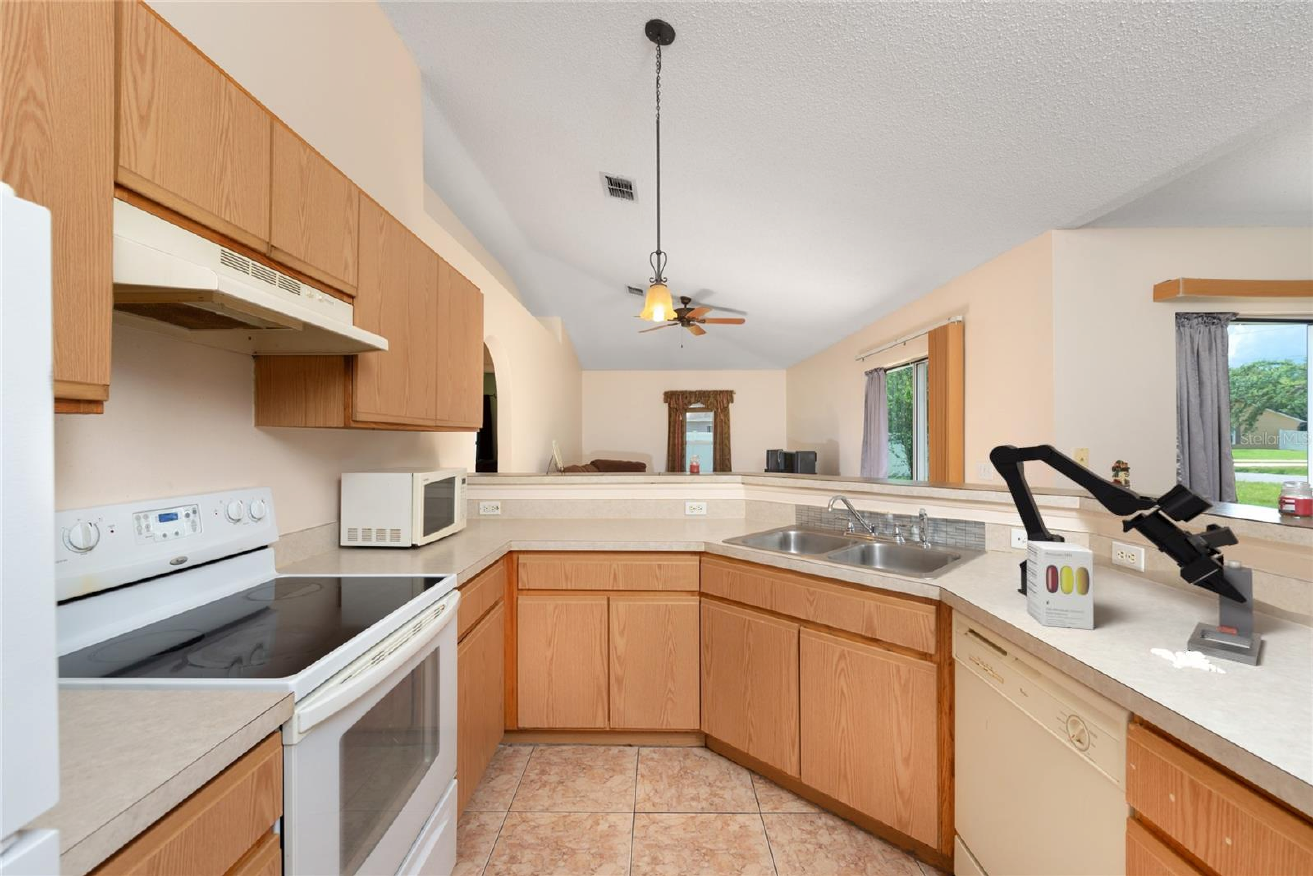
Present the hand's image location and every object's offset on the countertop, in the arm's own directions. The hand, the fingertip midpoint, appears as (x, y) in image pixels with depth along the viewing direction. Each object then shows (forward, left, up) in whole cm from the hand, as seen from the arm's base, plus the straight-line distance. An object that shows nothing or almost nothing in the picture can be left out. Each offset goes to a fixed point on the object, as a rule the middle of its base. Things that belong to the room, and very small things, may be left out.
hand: (1244, 596), depth 103 cm
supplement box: (-32, +5, -8) cm, 33 cm away
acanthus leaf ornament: (-23, -15, -8) cm, 29 cm away
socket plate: (-10, -7, -7) cm, 14 cm away
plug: (-1, +1, -7) cm, 8 cm away
